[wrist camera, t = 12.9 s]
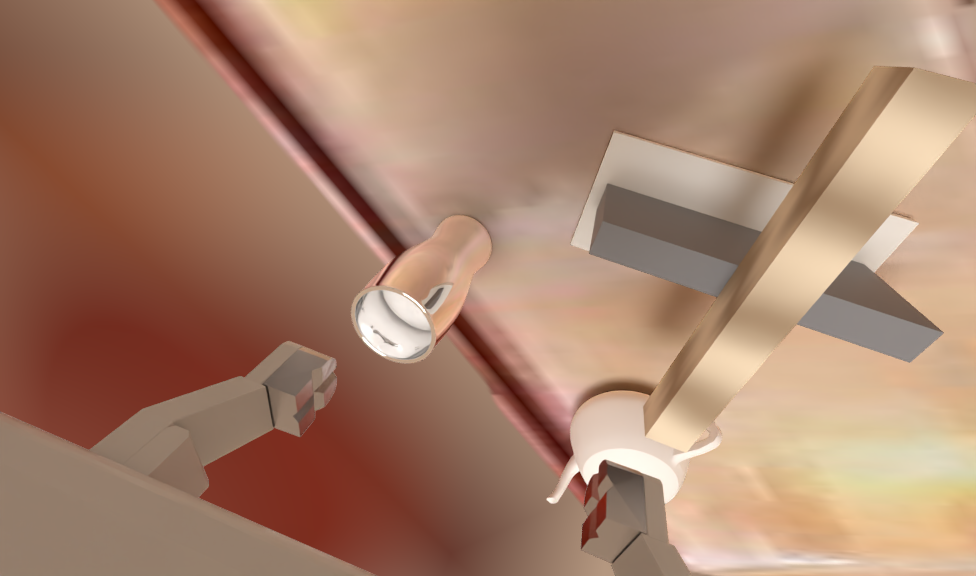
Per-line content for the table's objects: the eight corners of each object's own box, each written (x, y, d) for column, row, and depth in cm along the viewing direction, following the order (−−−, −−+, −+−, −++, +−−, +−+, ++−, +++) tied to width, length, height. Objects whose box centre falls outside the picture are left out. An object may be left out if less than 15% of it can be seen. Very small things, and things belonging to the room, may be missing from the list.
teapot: (586, 476, 52) (579, 556, 44) (525, 414, 50) (505, 486, 41) (742, 429, 42) (773, 523, 33) (674, 347, 39) (688, 426, 31)
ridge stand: (614, 130, 31) (610, 156, 23) (910, 218, 29) (1027, 284, 20) (571, 240, 37) (556, 294, 28) (816, 323, 34) (879, 409, 26)
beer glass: (468, 196, 37) (391, 266, 25) (510, 255, 39) (458, 347, 27) (418, 231, 41) (329, 308, 29) (459, 284, 43) (392, 377, 30)
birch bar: (874, 66, 18) (914, 67, 15) (945, 84, 18) (998, 88, 15) (643, 406, 31) (644, 436, 29) (681, 420, 31) (686, 453, 28)
